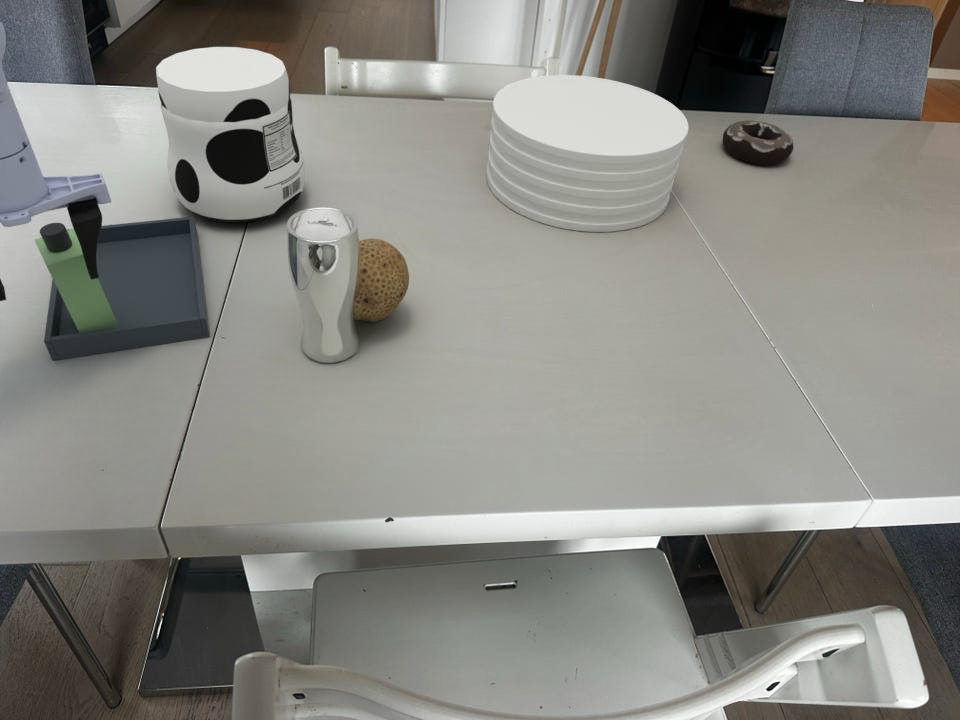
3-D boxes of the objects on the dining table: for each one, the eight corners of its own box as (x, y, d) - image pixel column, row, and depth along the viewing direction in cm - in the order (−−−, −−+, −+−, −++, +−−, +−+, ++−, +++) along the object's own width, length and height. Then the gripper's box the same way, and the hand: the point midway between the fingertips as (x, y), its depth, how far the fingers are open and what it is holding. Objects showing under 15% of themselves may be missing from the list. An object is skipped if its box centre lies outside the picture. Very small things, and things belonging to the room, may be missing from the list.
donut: (800, 168, 120) (810, 146, 117) (736, 168, 118) (744, 146, 115) (769, 138, 128) (777, 117, 125) (709, 138, 126) (715, 116, 123)
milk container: (179, 173, 102) (151, 43, 90) (303, 168, 106) (291, 43, 94) (172, 238, 90) (138, 97, 78) (312, 229, 94) (299, 94, 82)
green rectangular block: (85, 344, 73) (37, 248, 65) (72, 317, 76) (25, 221, 68) (121, 331, 75) (79, 235, 66) (106, 305, 78) (65, 210, 69)
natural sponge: (371, 356, 76) (370, 279, 69) (310, 323, 79) (303, 246, 73) (423, 316, 82) (426, 242, 75) (364, 287, 85) (362, 213, 79)
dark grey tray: (52, 360, 72) (43, 341, 70) (65, 248, 86) (58, 230, 85) (210, 337, 76) (205, 318, 75) (197, 234, 91) (193, 216, 89)
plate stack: (699, 187, 112) (721, 116, 104) (605, 255, 95) (623, 176, 87) (555, 129, 124) (565, 61, 116) (448, 180, 107) (452, 105, 99)
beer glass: (334, 317, 81) (326, 198, 71) (376, 345, 77) (375, 225, 68) (284, 344, 76) (269, 221, 67) (326, 375, 73) (317, 251, 63)
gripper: (-123, 187, 51) (-41, 331, 60) (96, 151, 57) (140, 286, 66) (-122, 145, 55) (-45, 285, 64) (82, 115, 61) (125, 247, 70)
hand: (48, 283), depth 66 cm, fingers open, 7 cm apart
